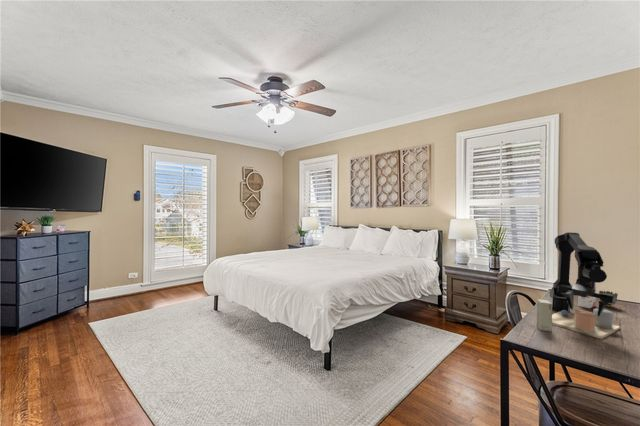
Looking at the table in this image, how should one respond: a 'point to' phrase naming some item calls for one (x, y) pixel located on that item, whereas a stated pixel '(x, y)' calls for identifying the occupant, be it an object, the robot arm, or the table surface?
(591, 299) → the ink cartridge box
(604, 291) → the cup
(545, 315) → the skincare box
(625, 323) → the table surface
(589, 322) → the peach domed cylinder
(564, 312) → the blue ellipsoid
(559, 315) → the birch board
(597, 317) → the grey rounded piece
